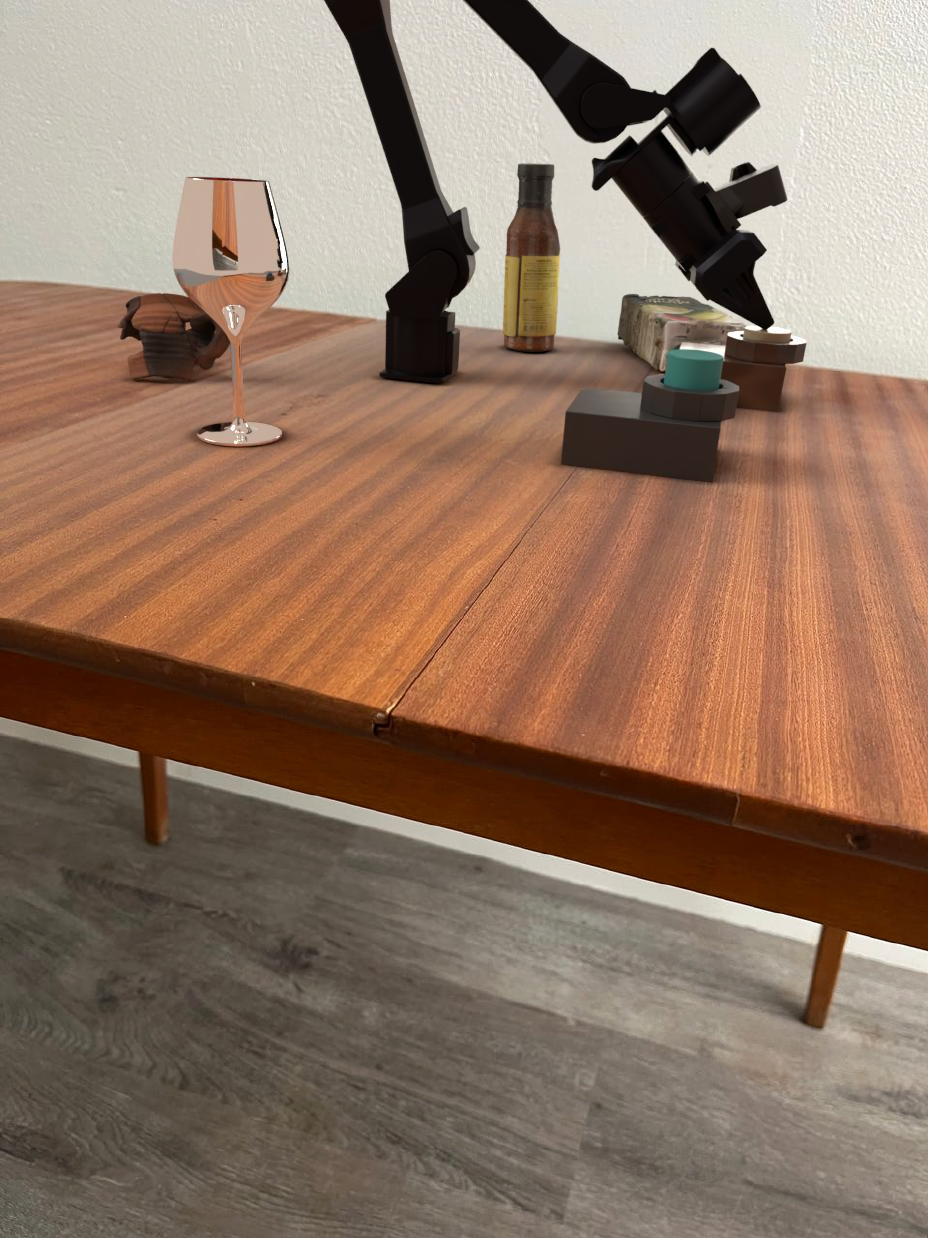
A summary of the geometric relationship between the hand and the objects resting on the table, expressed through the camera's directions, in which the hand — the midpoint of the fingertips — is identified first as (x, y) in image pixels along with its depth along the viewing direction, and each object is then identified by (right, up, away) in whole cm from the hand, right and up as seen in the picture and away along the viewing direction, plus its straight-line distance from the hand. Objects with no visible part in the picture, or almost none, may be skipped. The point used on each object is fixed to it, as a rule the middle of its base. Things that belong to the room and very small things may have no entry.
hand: (769, 326), depth 94 cm
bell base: (-3, -6, +4) cm, 8 cm away
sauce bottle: (-22, +4, +22) cm, 31 cm away
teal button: (-12, -11, -21) cm, 27 cm away
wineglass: (-46, -14, -18) cm, 52 cm away
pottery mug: (-56, -5, +1) cm, 57 cm away
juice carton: (-5, +2, +22) cm, 22 cm away
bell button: (0, -3, +1) cm, 3 cm away
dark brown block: (-16, -16, -18) cm, 28 cm away
